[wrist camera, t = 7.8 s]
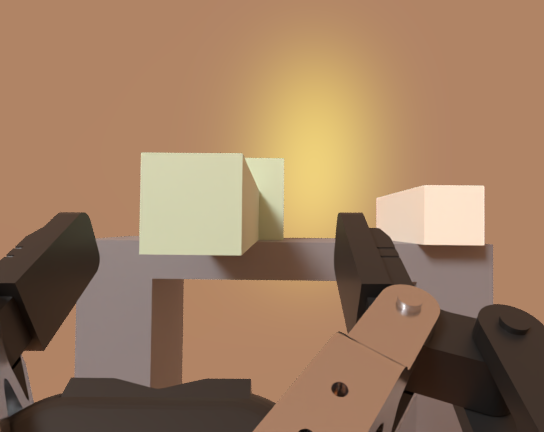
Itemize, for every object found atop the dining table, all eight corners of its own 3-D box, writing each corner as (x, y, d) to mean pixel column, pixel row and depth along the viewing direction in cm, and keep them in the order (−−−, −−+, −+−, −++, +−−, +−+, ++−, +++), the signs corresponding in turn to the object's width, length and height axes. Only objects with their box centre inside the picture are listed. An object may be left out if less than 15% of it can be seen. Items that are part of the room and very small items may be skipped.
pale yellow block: (88, 253, 11) (91, 84, 11) (198, 236, 27) (199, 167, 27) (292, 255, 11) (294, 86, 11) (281, 237, 27) (282, 168, 27)
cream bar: (424, 244, 19) (424, 185, 19) (376, 238, 28) (376, 198, 28) (484, 245, 19) (484, 185, 19) (416, 238, 28) (416, 198, 28)
